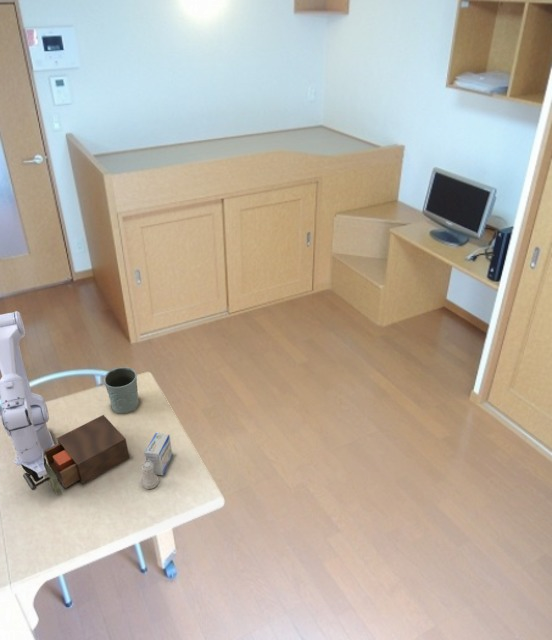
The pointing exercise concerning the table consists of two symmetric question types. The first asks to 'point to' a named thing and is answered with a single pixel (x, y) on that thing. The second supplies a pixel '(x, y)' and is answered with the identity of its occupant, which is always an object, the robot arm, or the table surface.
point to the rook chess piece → (149, 475)
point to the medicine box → (159, 452)
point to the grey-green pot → (122, 389)
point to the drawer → (55, 472)
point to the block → (63, 460)
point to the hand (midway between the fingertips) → (38, 478)
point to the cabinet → (95, 447)
